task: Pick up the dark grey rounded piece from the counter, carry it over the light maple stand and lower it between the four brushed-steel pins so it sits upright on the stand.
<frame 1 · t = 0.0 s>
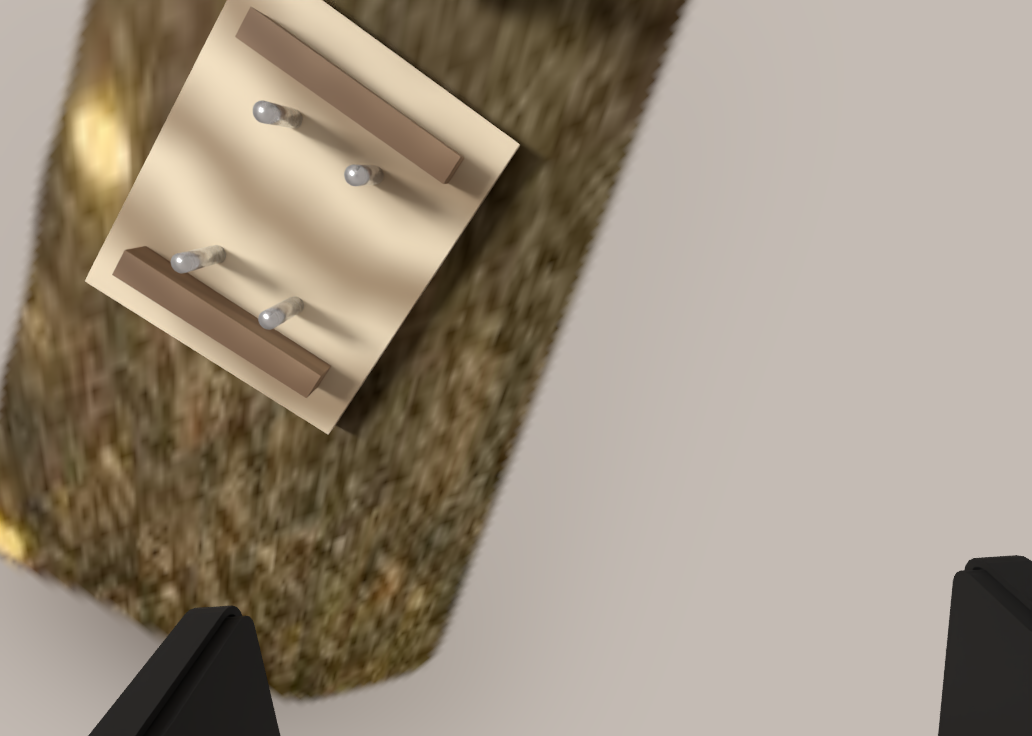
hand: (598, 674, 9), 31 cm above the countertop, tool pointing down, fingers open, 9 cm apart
pin stand: (303, 213, 38), on the countertop
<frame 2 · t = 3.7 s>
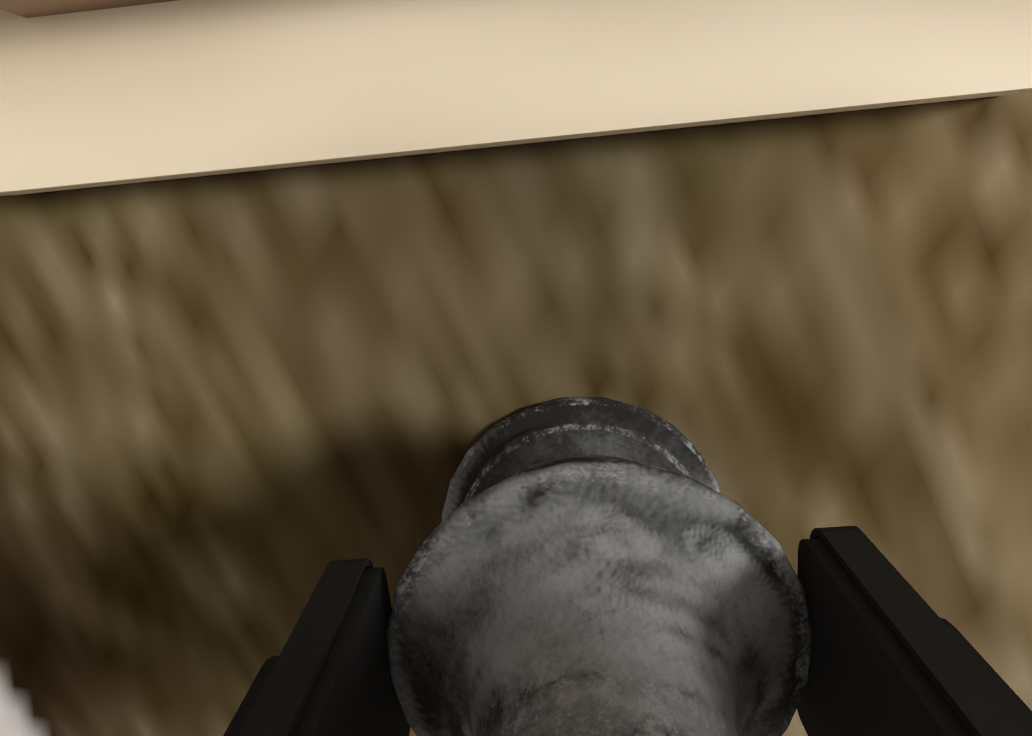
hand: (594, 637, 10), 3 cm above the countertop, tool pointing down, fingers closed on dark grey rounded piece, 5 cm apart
dark grey rounded piece: (580, 523, 13), on the countertop, touching gripper
when the fingers open (6 cm above the countertop, at t = 9.5 s): dark grey rounded piece drops 1 cm, resting on pin stand.
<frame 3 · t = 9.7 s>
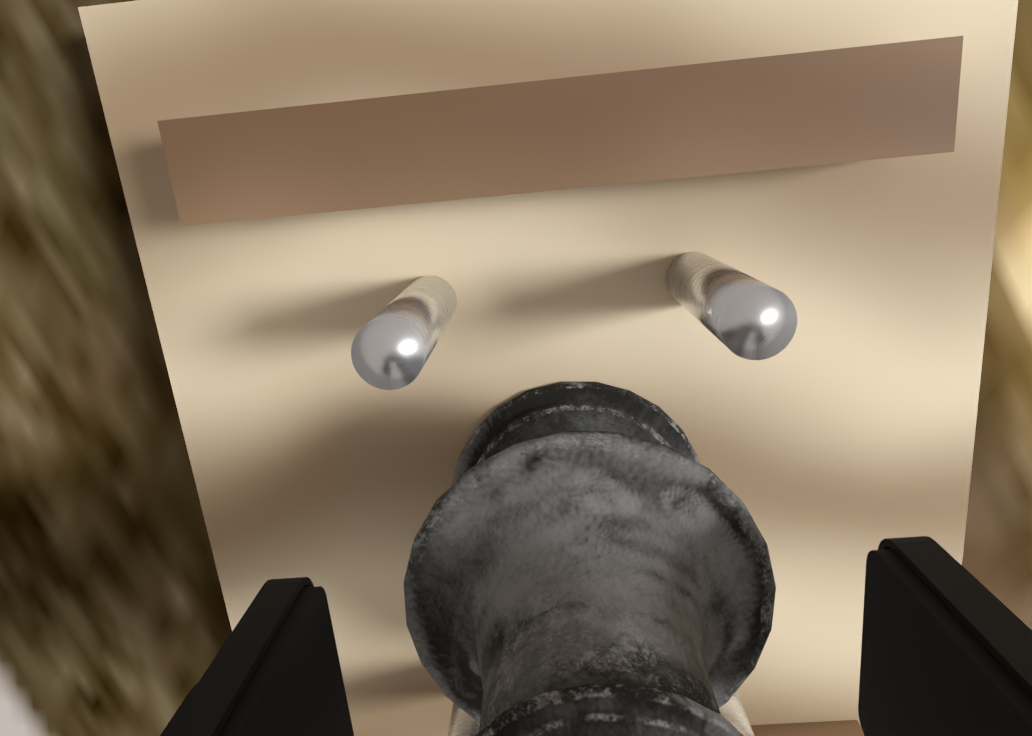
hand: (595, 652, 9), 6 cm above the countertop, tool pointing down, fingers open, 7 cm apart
pin stand: (572, 463, 16), on the countertop
dark grey rounded piece: (576, 497, 14), point 1 cm above the countertop, touching pin stand
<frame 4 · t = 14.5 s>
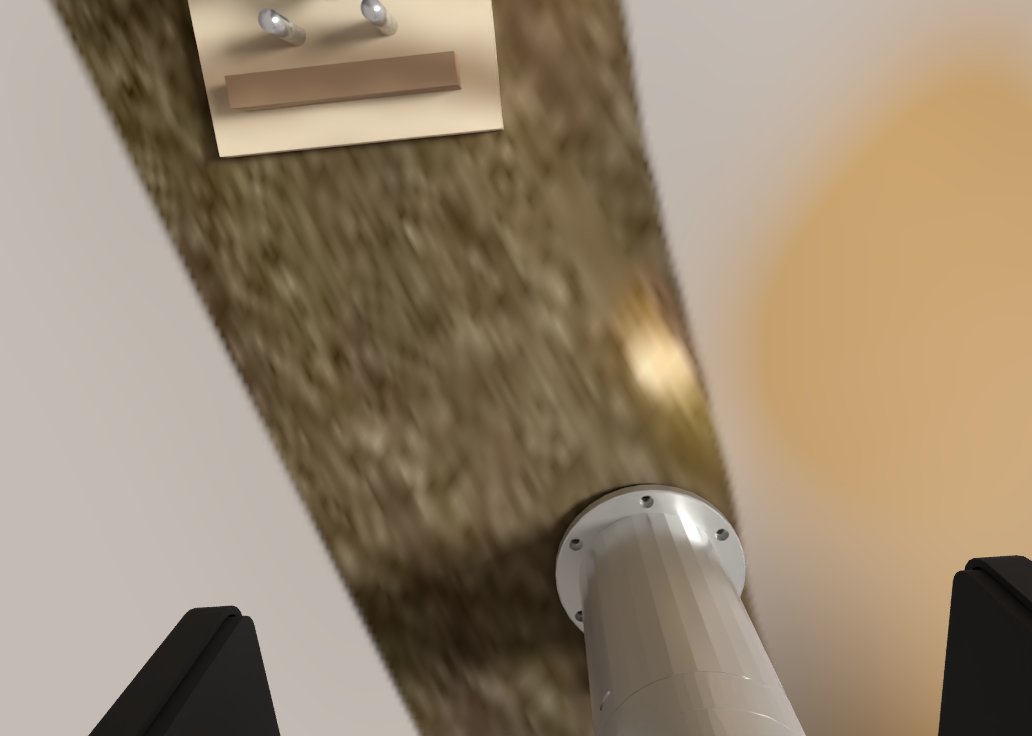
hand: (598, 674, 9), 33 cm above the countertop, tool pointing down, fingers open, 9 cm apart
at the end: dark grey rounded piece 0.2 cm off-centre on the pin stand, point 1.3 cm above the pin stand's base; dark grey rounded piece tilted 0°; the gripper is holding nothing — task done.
